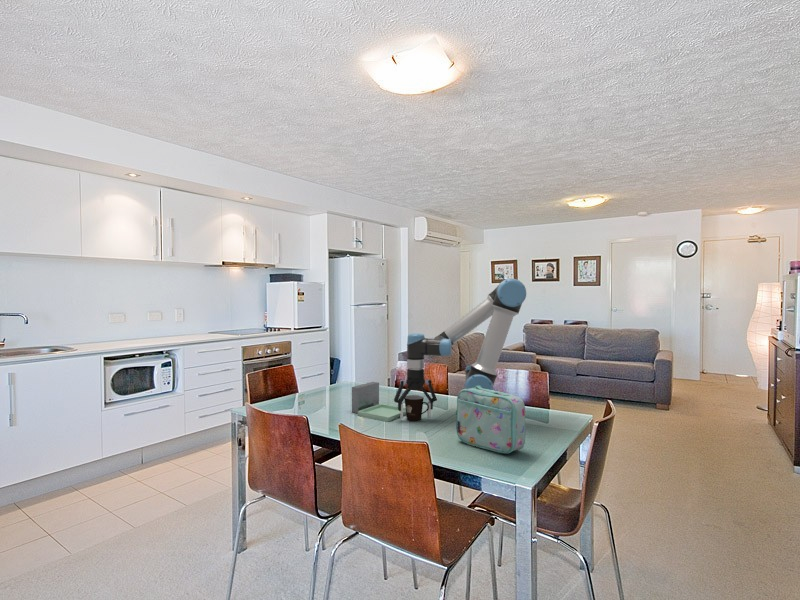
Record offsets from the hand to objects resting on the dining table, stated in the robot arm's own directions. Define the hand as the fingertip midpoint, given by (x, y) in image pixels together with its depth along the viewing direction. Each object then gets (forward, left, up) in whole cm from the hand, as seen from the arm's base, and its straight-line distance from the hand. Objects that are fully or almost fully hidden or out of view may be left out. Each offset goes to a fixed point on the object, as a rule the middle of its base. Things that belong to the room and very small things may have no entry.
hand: (415, 417), depth 196 cm
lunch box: (-40, +13, -2) cm, 42 cm away
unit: (+30, -2, -1) cm, 30 cm away
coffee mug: (0, 0, -2) cm, 2 cm away
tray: (+17, 0, -1) cm, 17 cm away
